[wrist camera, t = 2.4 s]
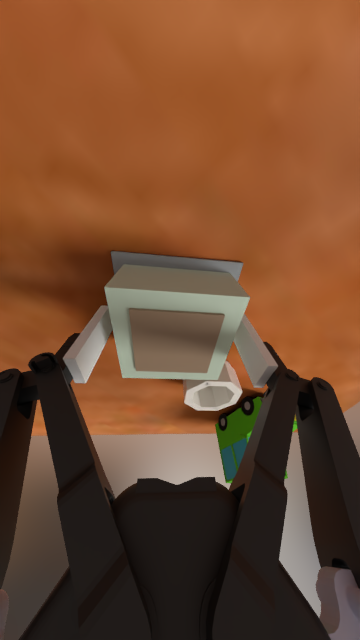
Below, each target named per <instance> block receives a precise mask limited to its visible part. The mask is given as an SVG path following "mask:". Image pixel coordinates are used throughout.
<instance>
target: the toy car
mask: <svg viewBox="0 0 360 640" xmlns="http://www.w3.org/2000/svg"><path fill="white" fill-rule="evenodd" d="M263 399H264V398H261V397H256V398H255V399H253V398H250V397H245V398H244V399H243V400H242V403H241V407H242V408H239V409H237V410H236V411H235V412H233V413H232V414H230V415H227V414H221V415H220V416H219V420H218V422H219V423H217V424H215V427H216V432H217V438H218V442H219V448H220V454H221V459H222V464H223V470H224V475H225V480H226V483H232V481H233V479H234V477H235V475H236V473H237V471H238V468H239V466H240V463H241V460H242V457H243V455H244V452H245V449H246V446H247V443H248V441H249V438H250V435H251V432H252V430H253V427H254V424H255V421H256V418H257V416H258V413H259V410H260V407H261V405H262V402H263ZM296 429H297V421H296V416H295V419H294V425H293V431H294V430H296ZM293 431H292V432H293ZM286 478H288V477H287V472H286V473H285V479H286Z"/></svg>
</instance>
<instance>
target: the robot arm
mask: <svg viewBox="0 0 360 640" xmlns="http://www.w3.org/2000/svg"><path fill="white" fill-rule="evenodd" d="M112 330H113V328H112V323H111V318H110V313H109V308H108V306H102V305H101V306H100V308H99V309H98V310H97V312H96V313H95V314H94V316H93V317H92V319H91V320H90V321H89V323H88V324H87V325H86V327H85V328H84V330H83V331H82V332H81V333H74V334H73V335H72V336H70V337H69V338H68V339H67V340H66V342H65V343H64V344H63V345H62V347H61V348H60V349H59V350H58V352H57V353H56V354H55V355H54V354H53V353H50V352H48V353H42V354H39V355H37V356H35V357H34V358H32V359H31V360H30V362H29V364H28V366H29V367H30V369H31V370H32V371H27V372H22V373H21V372H20V371H19V370H18V369H14V368H13V369H8V370H5V371H2V372H1V373H0V640H4V628H5V623H6V617H7V612H8V608H9V605H8V604H9V600H8V599H9V598H8V596H7V593H6V592H5V591H4V590H2V589H1V587H2V584H3V581H4V577H5V574H6V570H7V567H8V563H9V560H10V555H11V550H12V545H13V540H14V535H15V528H16V523H17V517H18V510H19V505H20V498H21V493H22V487H23V481H24V475H25V469H26V463H27V456H28V451H29V445H30V439H31V433H32V427H33V422H34V416H35V410H36V404H37V400H39V399H40V403H41V407H42V412H43V417H44V422H45V426H46V431H47V436H48V440H49V445H50V449H51V454H52V459H53V463H54V468H55V473H56V478H57V482H58V488H59V494H58V496H57V504H58V511H59V515H60V521H61V526H62V531H63V536H64V541H65V546H66V551H67V556H68V561H69V567H68V568H67V570H66V571H65V573H64V574H63V576H62V577H61V579H60V580H59V582H58V583H57V585H56V586H55V587H54V589H53V591H52V592H51V593H50V595H49V596H48V598H47V599H46V601H45V602H44V603H43V605H42V606H41V608H40V609H39V611H38V612H37V614H36V615H35V617H34V618H33V619H32V621H31V622H30V624H29V625H28V627H27V628H26V630H25V631H24V633H23V634H22V635H21V637H20V638H19V640H360V457H359V455H358V452H357V449H356V447H355V444H354V441H353V439H352V437H351V434H350V431H349V429H348V426H347V423H346V420H345V418H344V415H343V413H342V410H341V407H340V405H339V402H338V400H337V397H336V394H335V392H334V389H333V388H332V386H331V385H330V384H329V383H328V382H326V381H325V380H323V379H321V378H317V377H314V378H313V379H312V380H311V381H310V380H306V379H303V378H300V377H299V376H298V375H297V374H296V373H295V372H294V371H292V370H290V369H287V368H286V366H285V365H284V363H283V362H282V361H281V359H280V358H279V356H278V355H277V353H276V352H275V350H274V349H273V348H272V346H271V345H270V344H268V343H267V342H262V340H261V338H260V337H259V335H258V334H257V332H256V331H255V329H254V328H253V326H252V325H251V323H250V321H249V320H248V318H247V317H246V315H245V314H243V317H242V320H241V322H240V325H239V327H238V330H237V332H236V335H235V337H234V343H235V345H236V347H237V350H238V352H239V354H240V356H241V359H242V361H243V363H244V366H245V368H246V370H247V372H248V375H249V377H250V379H251V381H252V384H253V386H254V387H259V388H263V387H264V386H265V384H267V386H268V389H267V390H266V392H265V393H264V394H263V395H264V399H263V402H262V405H261V407H260V410H259V413H258V416H257V418H256V421H255V424H254V427H253V430H252V432H251V435H250V438H249V441H248V443H247V446H246V449H245V452H244V455H243V457H242V460H241V463H240V466H239V468H238V471H237V473H236V475H235V477H234V479H233V481H232V483H231V485H230V488H229V490H228V489H227V488H226V487H224V486H223V485H221V484H220V483H218V482H216V481H215V477H197V478H194V479H191V480H189V481H187V482H184V483H182V484H180V485H175V484H172V483H169V482H166V481H163V480H160V479H158V478H146V479H138V481H137V483H136V484H133V485H132V486H130V487H128V488H127V489H125V490H124V491H123V492H122V493H121V494H120V495H119V496H118V497H117V498H116V499H115V496H114V494H113V491H112V489H111V486H110V484H109V482H108V480H107V477H106V475H105V473H104V470H103V467H102V465H101V462H100V460H99V457H98V454H97V452H96V449H95V447H94V444H93V441H92V439H91V436H90V434H89V431H88V428H87V426H86V423H85V421H84V418H83V415H82V413H81V410H80V408H79V405H78V402H77V400H76V397H75V394H74V392H73V389H72V387H71V384H70V382H71V381H72V379H73V380H74V382H75V383H86V382H87V380H88V378H89V376H90V374H91V372H92V370H93V368H94V366H95V364H96V362H97V360H98V358H99V356H100V354H101V352H102V350H103V348H104V346H105V344H106V342H107V340H108V338H109V336H110V334H111V332H112ZM295 414H296V421H297V428H298V435H299V442H300V449H301V456H302V463H303V470H304V476H305V484H306V491H307V498H308V505H309V512H310V518H311V525H312V531H313V537H314V542H315V546H316V550H317V554H318V558H319V562H320V566H321V569H320V570H319V573H318V580H317V582H316V591H317V594H318V597H319V599H320V601H321V615H320V618H318V616H317V615H316V613H315V612H314V610H313V609H312V607H311V606H310V604H309V603H308V601H307V600H306V599H305V597H304V596H303V594H302V593H301V591H300V590H299V589H298V587H297V586H296V584H295V583H294V581H293V580H292V578H291V577H290V575H289V574H288V572H287V571H286V570H285V568H284V567H283V565H282V564H281V562H280V561H279V554H280V547H281V540H282V533H283V526H284V519H285V511H286V505H287V490H286V488H285V487H284V479H285V473H286V466H287V460H288V454H289V449H290V443H291V436H292V431H293V425H294V419H295Z"/></svg>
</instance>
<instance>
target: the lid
mask: <svg viewBox="0 0 360 640" xmlns="http://www.w3.org/2000/svg"><path fill="white" fill-rule="evenodd" d="M104 289H105V294H106V299H107V303H108V308H109V313H110V318H111V323H112V328H113V333H114V338H115V343H116V348H117V353H118V358H119V363H120V368H121V373H122V378H156V379H193V380H218V378H219V375H220V373H221V370H222V368H223V365H224V363H225V360H226V358H227V355H228V353H229V350H230V347H231V345H232V342H233V340H234V337H235V335H236V332H237V330H238V327H239V325H240V322H241V320H242V317H243V314H244V312H245V309H246V307H247V304H248V302H249V299H250V297H249V295H248V294H247V293H246V292H245V291H244V289H243V288H242V287H241V286H240V284H239V283H238V282H237V281H236V280H235V278H234V277H233V276H232V275H231V274H230V273H225V272H213V271H200V270H188V269H176V268H164V267H152V266H139V265H127V264H124V265H123V266H122V267H121V268H120V269H119V270H118V272H117V273H116V274H115V275H114V276H113V277H112V279H111V280H110V281H109V282H108V283H107V284H106V286H105V287H104Z"/></svg>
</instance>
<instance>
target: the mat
mask: <svg viewBox="0 0 360 640" xmlns="http://www.w3.org/2000/svg"><path fill="white" fill-rule="evenodd" d="M111 257H112V263H113V270H114V275H115V274H116V273H117V272H118V270H119V269H120V268H121V267H122V266H123V265H124V264H127V265H139V266H152V267H164V268H176V269H188V270H200V271H213V272H225V273H230V274H231V275H232V276H233V277H234V278H235V280H236V281H237V282H238V278H239V275H240V272H241V269H242V266H243V263H242V262H233V261H222V260H210V259H199V258H188V257H176V256H165V255H154V254H142V253H131V252H119V251H111Z"/></svg>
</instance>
